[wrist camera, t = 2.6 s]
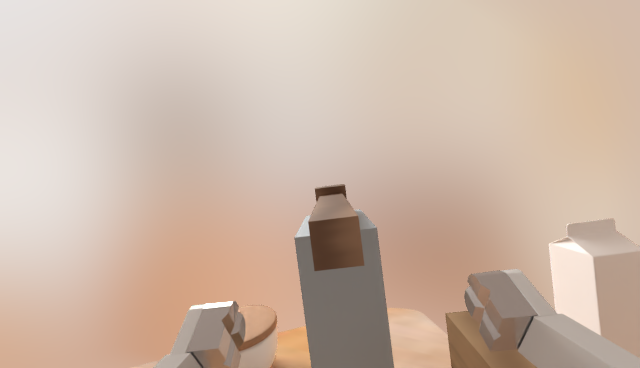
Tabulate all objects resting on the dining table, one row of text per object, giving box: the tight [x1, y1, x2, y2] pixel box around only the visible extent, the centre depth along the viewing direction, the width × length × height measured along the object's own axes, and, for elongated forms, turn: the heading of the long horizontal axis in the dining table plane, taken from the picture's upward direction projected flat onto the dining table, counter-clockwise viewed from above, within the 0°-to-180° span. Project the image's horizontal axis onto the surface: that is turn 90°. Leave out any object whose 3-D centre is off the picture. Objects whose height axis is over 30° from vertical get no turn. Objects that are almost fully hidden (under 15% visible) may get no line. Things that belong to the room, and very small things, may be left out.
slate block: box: [295, 209, 394, 368], centre depth 34 cm, size 8×14×26 cm, turn 178°
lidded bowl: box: [238, 305, 278, 368], centre depth 45 cm, size 13×13×11 cm
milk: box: [549, 218, 640, 358], centre depth 33 cm, size 6×6×22 cm
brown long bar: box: [308, 184, 365, 271], centre depth 28 cm, size 4×24×4 cm, turn 178°
